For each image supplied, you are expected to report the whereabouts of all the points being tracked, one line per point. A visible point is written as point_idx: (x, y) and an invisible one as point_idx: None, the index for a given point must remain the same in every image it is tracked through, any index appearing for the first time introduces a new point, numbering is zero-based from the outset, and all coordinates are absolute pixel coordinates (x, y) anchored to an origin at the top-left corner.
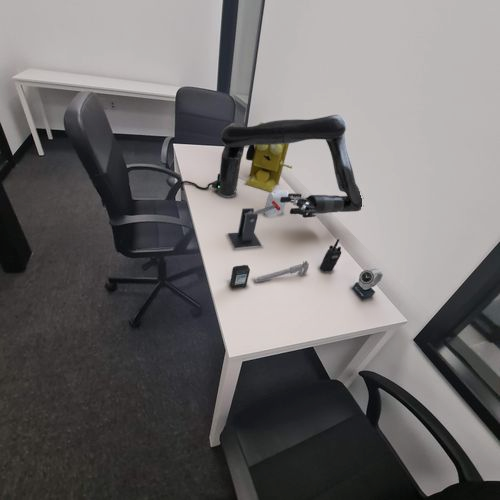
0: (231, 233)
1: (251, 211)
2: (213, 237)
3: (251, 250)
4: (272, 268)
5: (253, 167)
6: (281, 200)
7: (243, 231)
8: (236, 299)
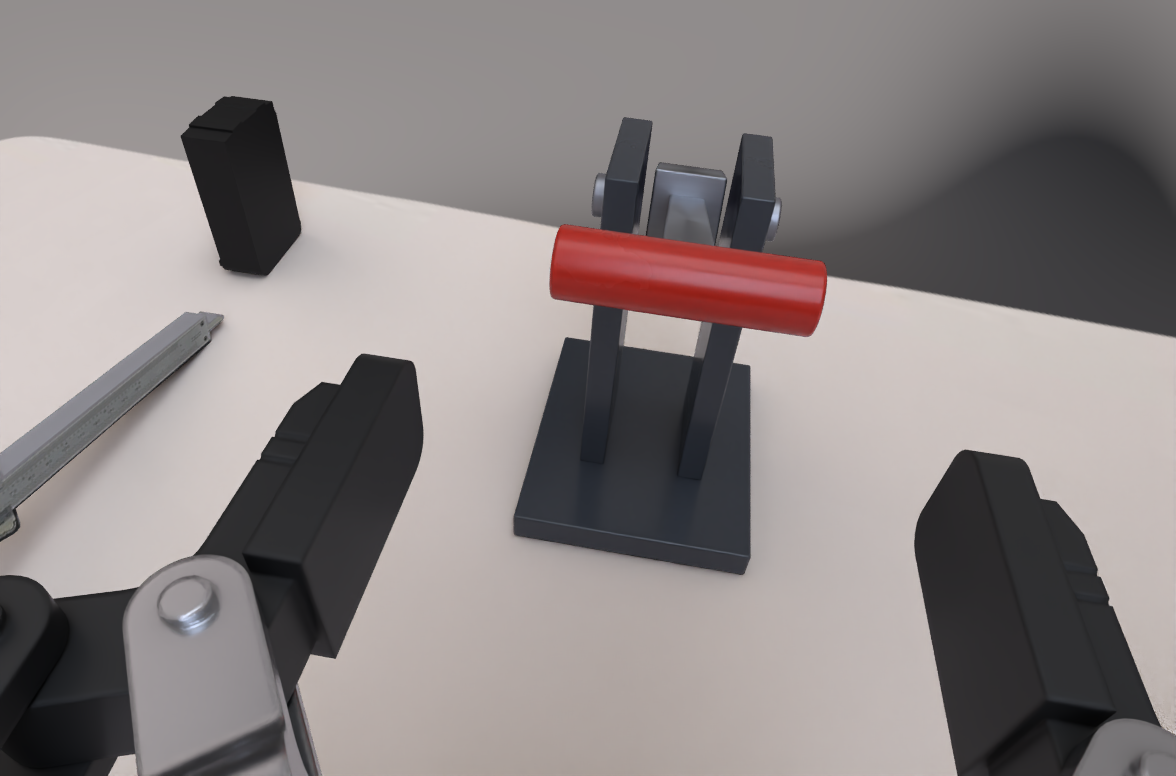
0: (744, 382)
1: (708, 175)
2: None
3: (506, 446)
4: (217, 477)
5: None
6: (936, 500)
7: None
8: (194, 218)
